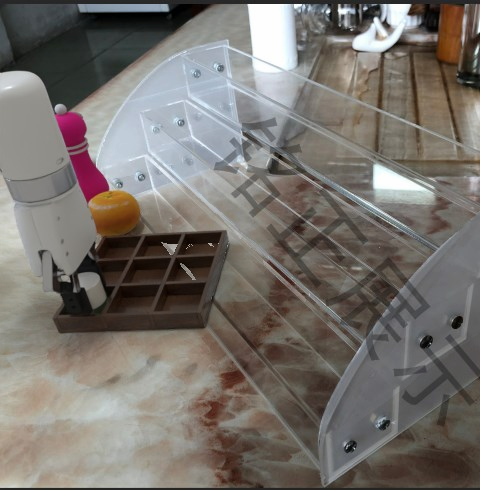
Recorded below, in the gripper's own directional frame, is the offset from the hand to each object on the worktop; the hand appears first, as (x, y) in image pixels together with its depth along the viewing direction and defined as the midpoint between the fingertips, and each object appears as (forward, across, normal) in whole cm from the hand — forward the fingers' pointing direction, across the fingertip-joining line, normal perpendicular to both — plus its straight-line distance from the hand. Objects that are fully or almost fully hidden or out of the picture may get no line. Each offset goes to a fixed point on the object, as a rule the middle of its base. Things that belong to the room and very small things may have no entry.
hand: (87, 298), depth 80 cm
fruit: (+3, -22, -4) cm, 22 cm away
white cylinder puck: (0, 0, 0) cm, 0 cm away
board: (+3, -6, +6) cm, 9 cm away
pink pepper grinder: (+3, -29, -10) cm, 31 cm away
